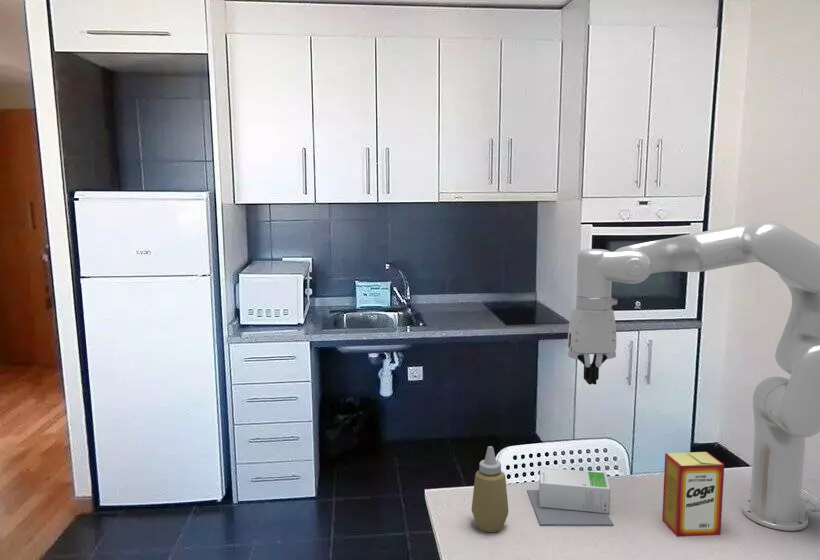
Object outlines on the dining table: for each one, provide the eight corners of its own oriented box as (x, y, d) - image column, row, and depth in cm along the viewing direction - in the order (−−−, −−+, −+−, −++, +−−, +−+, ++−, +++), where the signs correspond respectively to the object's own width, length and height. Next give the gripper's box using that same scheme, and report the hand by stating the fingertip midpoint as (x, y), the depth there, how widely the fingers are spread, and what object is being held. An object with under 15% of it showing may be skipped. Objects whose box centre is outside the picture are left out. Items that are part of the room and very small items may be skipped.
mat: (592, 491, 146) (592, 489, 146) (613, 525, 130) (613, 524, 130) (527, 491, 146) (527, 489, 146) (540, 525, 130) (540, 524, 130)
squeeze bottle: (512, 520, 132) (513, 443, 130) (502, 539, 125) (503, 457, 123) (478, 513, 136) (478, 437, 134) (466, 530, 128) (466, 451, 126)
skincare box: (611, 489, 133) (540, 482, 136) (609, 516, 134) (539, 509, 137) (606, 471, 141) (539, 465, 144) (604, 496, 142) (538, 490, 145)
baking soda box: (676, 536, 126) (680, 464, 124) (662, 520, 132) (665, 451, 130) (720, 535, 126) (724, 462, 124) (703, 519, 133) (707, 450, 131)
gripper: (621, 301, 138) (618, 378, 140) (556, 301, 138) (554, 378, 140) (632, 306, 130) (629, 387, 133) (564, 306, 131) (561, 387, 133)
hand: (590, 382), depth 136 cm, fingers closed
